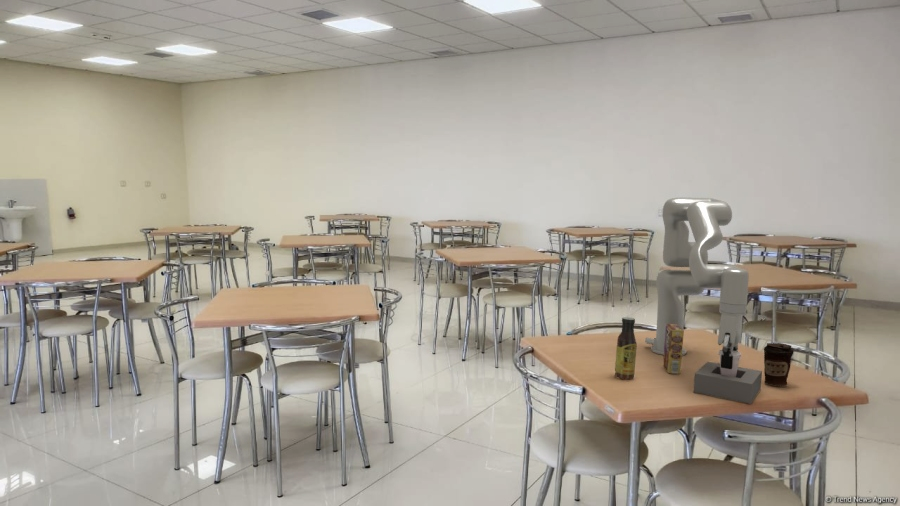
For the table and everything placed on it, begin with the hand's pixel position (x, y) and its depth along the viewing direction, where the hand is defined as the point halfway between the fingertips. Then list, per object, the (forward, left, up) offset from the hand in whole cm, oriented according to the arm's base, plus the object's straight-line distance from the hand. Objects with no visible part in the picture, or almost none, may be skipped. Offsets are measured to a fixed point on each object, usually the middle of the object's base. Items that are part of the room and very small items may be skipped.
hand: (728, 365), depth 184 cm
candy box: (-20, +11, -8) cm, 24 cm away
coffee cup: (+11, +17, -8) cm, 22 cm away
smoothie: (0, 0, -6) cm, 6 cm away
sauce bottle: (-30, -7, -8) cm, 32 cm away
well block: (0, 0, -8) cm, 8 cm away
